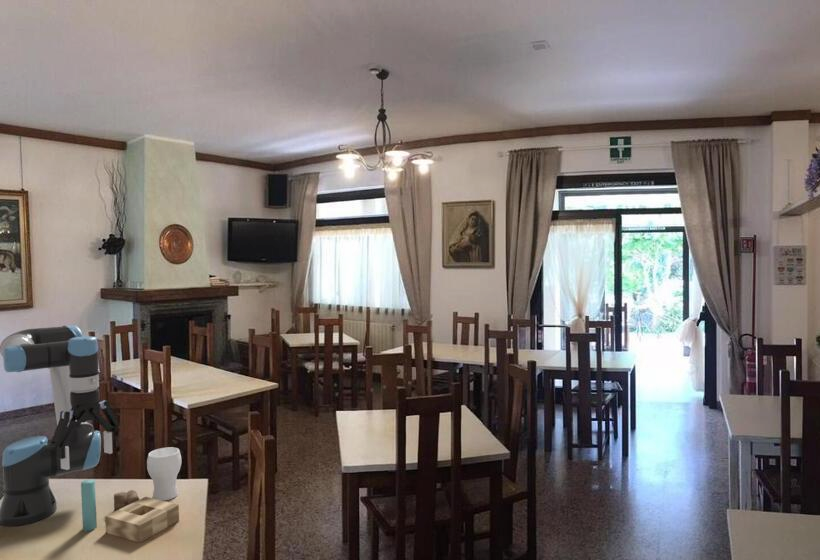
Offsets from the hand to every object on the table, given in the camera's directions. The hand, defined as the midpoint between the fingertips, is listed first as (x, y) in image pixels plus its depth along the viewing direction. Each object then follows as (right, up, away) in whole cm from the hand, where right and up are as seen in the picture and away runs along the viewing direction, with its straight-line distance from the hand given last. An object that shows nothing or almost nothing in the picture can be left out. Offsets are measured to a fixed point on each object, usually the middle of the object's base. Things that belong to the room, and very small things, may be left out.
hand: (87, 460), depth 165 cm
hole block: (+16, -20, +2) cm, 26 cm away
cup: (+13, -19, +22) cm, 32 cm away
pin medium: (+8, -18, +13) cm, 23 cm away
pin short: (+3, -20, +13) cm, 24 cm away
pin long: (0, -20, +1) cm, 20 cm away
